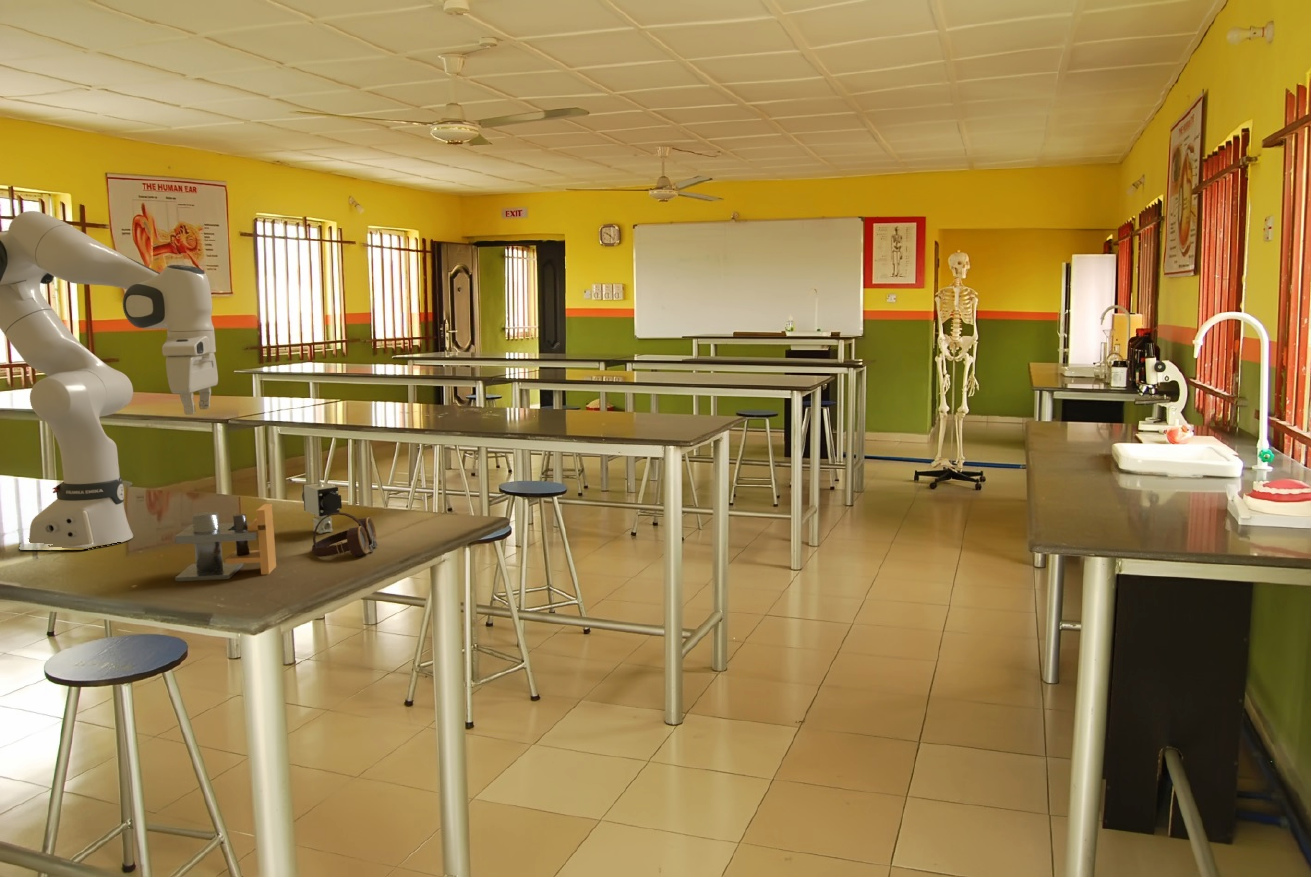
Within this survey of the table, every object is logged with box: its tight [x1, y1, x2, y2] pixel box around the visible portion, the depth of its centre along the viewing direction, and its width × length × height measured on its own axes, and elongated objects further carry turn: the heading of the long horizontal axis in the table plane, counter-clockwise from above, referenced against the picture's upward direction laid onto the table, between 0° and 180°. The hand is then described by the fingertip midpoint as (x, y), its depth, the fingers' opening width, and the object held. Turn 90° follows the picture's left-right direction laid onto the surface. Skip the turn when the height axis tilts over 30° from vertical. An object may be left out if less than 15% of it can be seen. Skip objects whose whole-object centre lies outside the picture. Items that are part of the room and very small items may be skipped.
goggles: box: [311, 511, 378, 558], centre depth 215 cm, size 15×13×10 cm
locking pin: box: [232, 513, 251, 556], centre depth 200 cm, size 2×2×8 cm
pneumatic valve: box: [301, 480, 343, 535], centre depth 234 cm, size 6×12×12 cm, turn 42°
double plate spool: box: [173, 511, 259, 582], centre depth 200 cm, size 16×10×12 cm, turn 97°
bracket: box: [225, 503, 277, 576], centre depth 200 cm, size 8×6×13 cm
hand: (197, 411), depth 208 cm, fingers open, 8 cm apart
